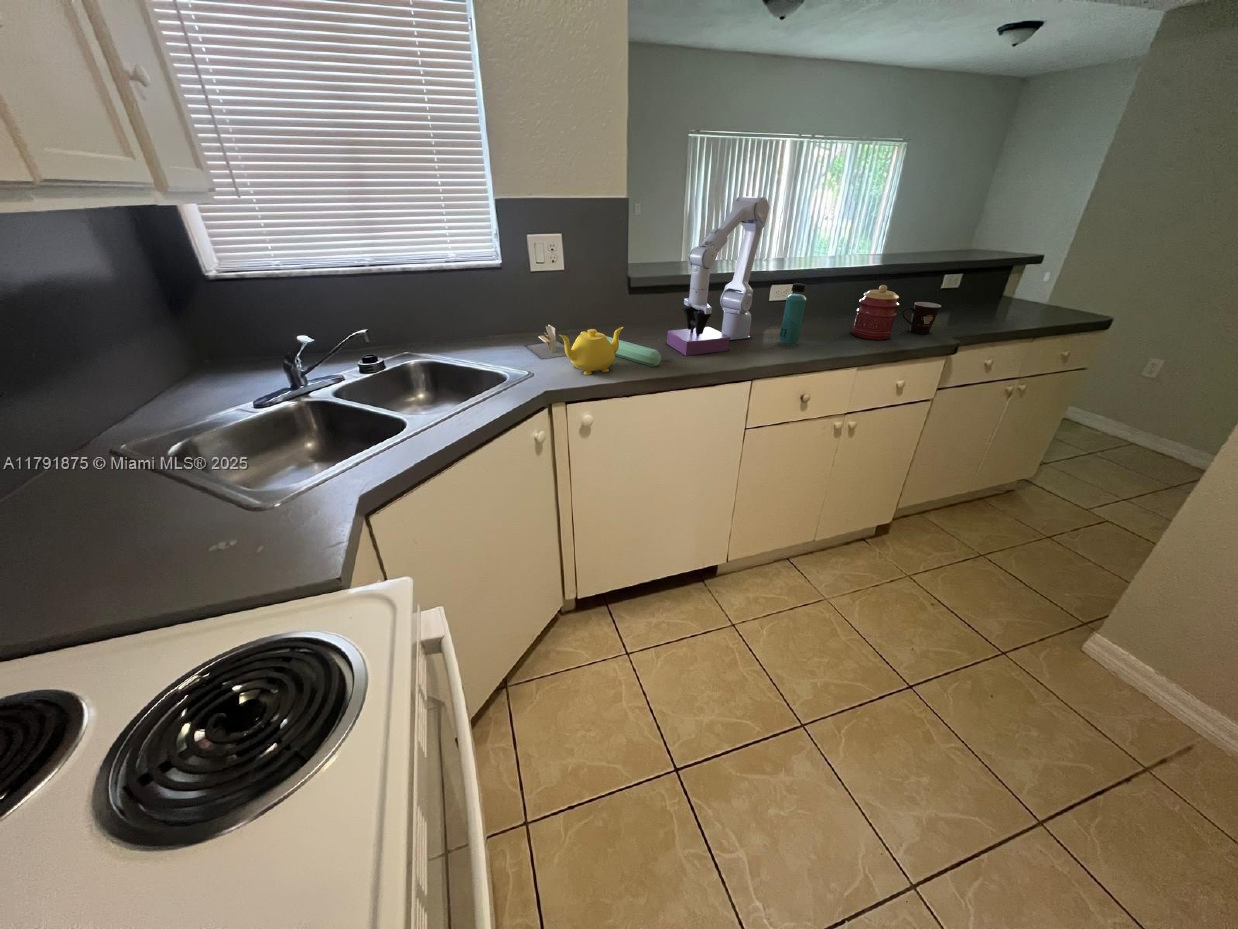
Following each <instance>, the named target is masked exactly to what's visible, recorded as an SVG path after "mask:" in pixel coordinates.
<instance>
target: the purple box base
mask: <svg viewBox="0 0 1238 929" xmlns="http://www.w3.org/2000/svg"><path fill="white" fill-rule="evenodd" d="M729 343H730V340H729V339H726V340H716V341H707V342H697V343H688V344H687V343H685V342H683V341H681V340H680V339H678V338H676V337H675V336H673V335H671V334H670V333H668V332H667V336H666V344H667V345H668V346H670V347H671V348H673V349H675V350H676V351H678V352H679V353H681V354H682V355H684V356H695V355H703V354H711V353H721V352H728V350H729Z"/></svg>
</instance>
